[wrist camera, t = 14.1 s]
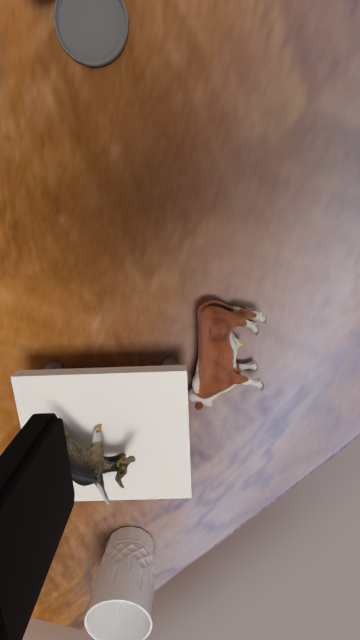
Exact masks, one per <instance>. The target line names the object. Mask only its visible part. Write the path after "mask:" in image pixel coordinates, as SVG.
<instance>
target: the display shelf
mask: <svg viewBox="0 0 360 640" xmlns="http://www.w3.org/2000/svg"><path fill="white" fill-rule="evenodd" d="M11 381H12V386H13V391H14V396H15V401H16V406H17V411H18V416H19V421H20V426H21V429H22V427H23V426H24V425H25V424H26V422H27V421H28V420H29V418H30V417H31V416H32V415H33V414H39V413H55V414H56V416H57V418H61V419H62V420H63V424H64V428H65V429H66V431H67V433H68V434H69V436H70V437H71V438H72V439H74V440H75V441H76V443H78V444H79V445H80V446H81V447H84V448H89V447H91V443H92V436H93V433H94V431H95V429H96V428H97V426H98V425H99V424H102V426H101V438H102V443H103V447H104V456H106V457H107V456H110V457H111V456H116V455H117V454H120V453H124V454H126V457H125V458H128V457H129V456H134V457H135V462H131V463H130V464H129V465H128V467H127V473H126V475H125V476H123V478H121V482H122V484H123V486H124V488H121V487H120V486H119V484H118V483H117V481H116V480H115V477H116V474H117V472H108V473H103V481H104V489H105V491H106V493H107V496H108V499H109V500H140V499H178V498H192V497H191V469H190V441H189V413H188V385H187V365H178V361H177V360H176V359H175V358H172V357H168V358H166V359H164V360H163V362H162V366H133V367H103V368H73V369H63V367H62V365H61V364H60V363H59V362H56V361H52V362H49V363H48V364H47V365H46V366H45V367H44V369H43V370H17V371H16V372H15V373H14V374H13V375H12V376H11ZM73 486H74V492H75V499H74V501H102V500H104V498H103V496H102V495H101V493H100V491H99V489H98V488H97V487H96V485H95V484H91V485H87V486H81V485H79V484H77V483H75V482H74V481H73Z"/></svg>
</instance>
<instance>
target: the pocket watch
mask: <svg viewBox="0 0 360 640" xmlns="http://www.w3.org/2000/svg"><path fill="white" fill-rule="evenodd" d="M53 19H54V27H55V31H56V35H57V37H58V39H59V41H60V43H61V45H62V47H63V49H64V50H65V51H66V52H67V53H68V54H69V55H70V56H71V57H72V58H73V59H74V60H76V61H77V62H79V63H81V64H84V65H86V66H89V67H99V66H103V65H106V64H108V63H110V62H112V61H113V60H114V59H115V58H117V56H118V55H119V54H120V53H121V51H122V49H123V48H124V45H125V43H126V40H127V36H128V31H129V30H128V27H129V21H128V13H127V9H126V6H125V3H124V1H123V0H56V2H55V6H54V13H53Z"/></svg>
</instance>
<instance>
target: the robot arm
mask: <svg viewBox="0 0 360 640" xmlns="http://www.w3.org/2000/svg"><path fill="white" fill-rule="evenodd" d="M74 499H75V492H74V486H73V480H72V473H71V467H70V461H69V455H68V449H67V442H66V436H65V430H64V424H63V420H62V419H61V418H57V416H56V414H55V413H39V414H33V415H32V416H31V417H30V418H29V420H28V421H27V422H26V424H25V425H24V426H23V427H22V429H21V430H20V431H19V433H18V434H17V435H16V436H15V438H14V439H13V440H12V442H11V443H10V444H9V445H8V447H7V448H6V449H5V451H4V452H3V453H2V454H1V456H0V640H22V638H23V636H24V633H25V630H26V628H27V625H28V623H29V620H30V618H31V615H32V612H33V610H34V607H35V605H36V602H37V599H38V597H39V594H40V591H41V589H42V586H43V584H44V581H45V578H46V576H47V573H48V571H49V568H50V565H51V563H52V560H53V558H54V555H55V552H56V550H57V547H58V545H59V542H60V539H61V537H62V534H63V532H64V529H65V526H66V524H67V521H68V519H69V516H70V513H71V511H72V508H73V505H74Z"/></svg>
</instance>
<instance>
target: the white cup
mask: <svg viewBox="0 0 360 640" xmlns="http://www.w3.org/2000/svg"><path fill="white" fill-rule="evenodd" d="M153 595H154V541H153V539H152V537H151V536H150V534H149V533H147V532H146V531H144V530H143V529H141V528H137V527H131V526H129V527H123V528H119V529H118V530H116V531H115V532H113V533H112V534H111V536H110V538H109V540H108V542H107V546H106V549H105V553H104V555H103V558H102V561H101V564H100V568H99V571H98V574H97V577H96V581H95V584H94V588H93V591H92V595H91V598H90V602H89V605H88V609H87V612H86V616H85V628H86V630H87V632H88V633H89V634H90V636H91V637H93V638H94V639H95V640H145V639H146V638H147V637H148V635H149V634H150V632H151V630H152V622H153Z"/></svg>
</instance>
